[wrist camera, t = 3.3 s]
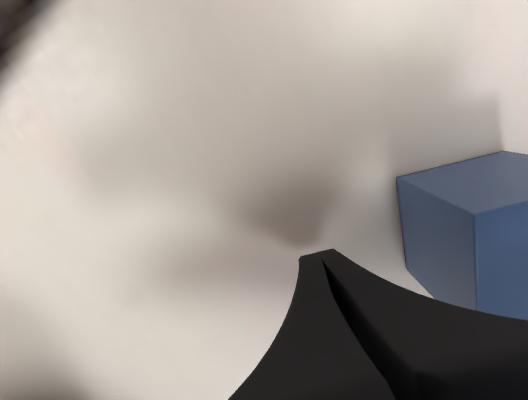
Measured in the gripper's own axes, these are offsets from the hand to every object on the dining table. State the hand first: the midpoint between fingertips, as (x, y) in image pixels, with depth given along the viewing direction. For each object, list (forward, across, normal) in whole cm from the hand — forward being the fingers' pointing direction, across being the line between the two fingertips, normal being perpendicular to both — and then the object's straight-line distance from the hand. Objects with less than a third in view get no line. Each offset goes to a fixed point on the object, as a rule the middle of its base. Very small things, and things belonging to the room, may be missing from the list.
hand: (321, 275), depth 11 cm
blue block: (+2, -6, 0) cm, 7 cm away
